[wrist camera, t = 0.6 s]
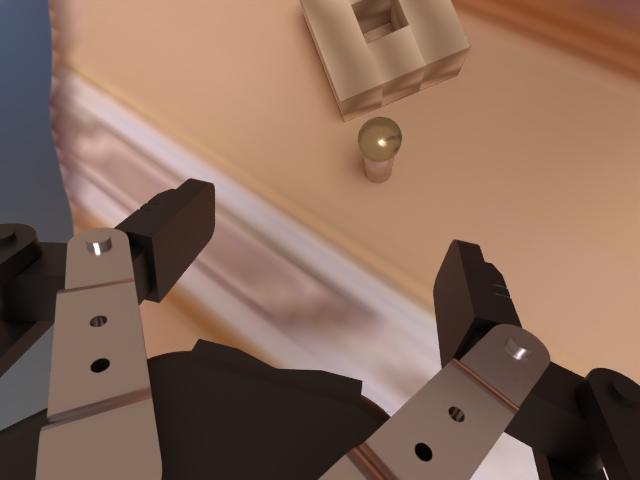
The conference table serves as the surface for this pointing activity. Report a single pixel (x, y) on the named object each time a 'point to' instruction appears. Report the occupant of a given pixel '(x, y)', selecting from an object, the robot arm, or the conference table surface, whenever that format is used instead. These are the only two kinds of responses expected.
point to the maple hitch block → (384, 48)
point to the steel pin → (379, 147)
